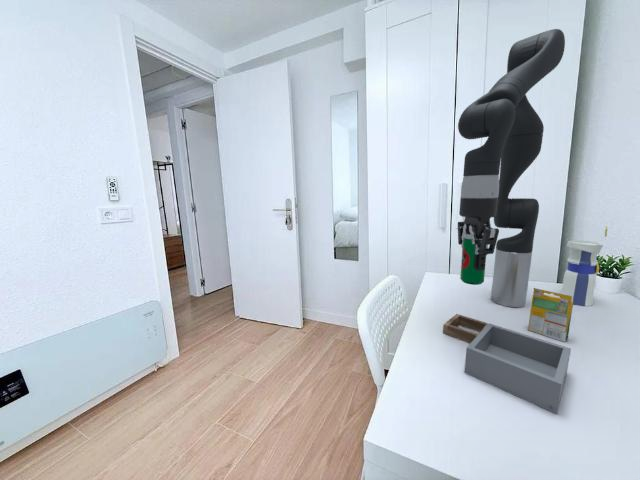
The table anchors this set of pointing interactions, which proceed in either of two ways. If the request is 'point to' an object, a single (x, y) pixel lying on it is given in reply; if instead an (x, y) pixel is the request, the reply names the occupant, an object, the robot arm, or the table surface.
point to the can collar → (462, 334)
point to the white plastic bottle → (581, 271)
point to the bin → (519, 365)
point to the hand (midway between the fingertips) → (472, 266)
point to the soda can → (470, 263)
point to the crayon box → (550, 314)
